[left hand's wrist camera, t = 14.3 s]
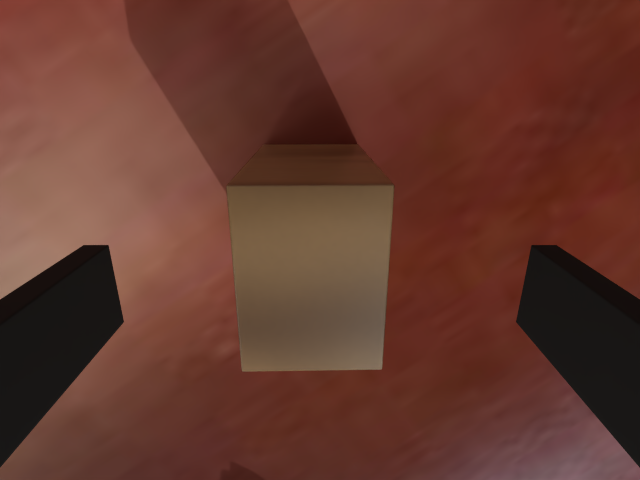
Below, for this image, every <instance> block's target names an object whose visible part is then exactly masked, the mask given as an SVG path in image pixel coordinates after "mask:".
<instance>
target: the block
mask: <svg viewBox="0 0 640 480" xmlns="http://www.w3.org/2000/svg"><path fill="white" fill-rule="evenodd" d="M226 189H227V201H228V213H229V224H230V236H231V248H232V260H233V272H234V284H235V296H236V308H237V320H238V332H239V344H240V355H241V367H242V371H304V370H375V369H382V364H383V349H384V334H385V319H386V304H387V289H388V274H389V259H390V244H391V229H392V214H393V199H394V184H393V183H392V182H391V181H390V180H389V179H388V177H387V176H386V175H385V174H384V173H383V172H382V171H381V170H380V168H379V167H378V166H377V165H376V164H375V163H374V162H373V161H372V160H371V158H370V157H369V156H368V155H367V154H366V153H365V152H364V151H363V149H362V148H361V147H360V146H359V145H358V144H264V145H263V146H262V147H261V148H260V149H259V150H258V151H257V152H256V153H255V155H254V156H253V157H252V158H251V159H250V160H249V161H248V162H247V163H246V165H245V166H244V167H243V168H242V169H241V170H240V171H239V172H238V173H237V175H236V176H235V177H234V178H233V179H232V180H231V181H230V182H229V183H228V185H227V186H226Z"/></svg>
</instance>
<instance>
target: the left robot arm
mask: <svg viewBox="0 0 640 480" xmlns="http://www.w3.org/2000/svg"><path fill="white" fill-rule="evenodd" d="M123 322H124V320H123V315H122V310H121V305H120V300H119V295H118V290H117V285H116V281H115V276H114V271H113V266H112V261H111V256H110V251H109V246H108V245H83V246H82V247H80V248H79V249H77V250H76V251H74V252H73V253H71V254H69V255H68V256H66V257H65V258H63V259H62V260H60V261H59V262H57V263H56V264H54V265H53V266H51V267H50V268H48V269H46V270H45V271H43V272H42V273H40V274H39V275H37V276H36V277H34V278H33V279H31V280H30V281H28V282H27V283H25V284H23V285H22V286H20V287H19V288H17V289H16V290H14V291H13V292H11V293H10V294H8V295H7V296H5V297H3V298H2V299H0V467H1V466H2V465H3V464H4V462H5V461H6V460H7V459H8V458H9V457H10V455H11V454H12V453H13V452H14V451H15V449H16V448H17V447H18V446H19V445H20V444H21V442H22V441H23V440H24V439H25V438H26V437H27V435H28V434H29V433H30V432H31V431H32V429H33V428H34V427H35V426H36V425H37V424H38V422H39V421H40V420H41V419H42V418H43V417H44V415H45V414H46V413H47V412H48V411H49V409H50V408H51V407H52V406H53V405H54V404H55V402H56V401H57V400H58V399H59V398H60V397H61V395H62V394H63V393H64V392H65V391H66V389H67V388H68V387H69V386H70V385H71V384H72V382H73V381H74V380H75V379H76V378H77V377H78V375H79V374H80V373H81V372H82V371H83V369H84V368H85V367H86V366H87V365H88V364H89V362H90V361H91V360H92V359H93V358H94V357H95V355H96V354H97V353H98V352H99V351H100V349H101V348H102V347H103V346H104V345H105V344H106V342H107V341H108V340H109V339H110V338H111V337H112V335H113V334H114V333H115V332H116V331H117V329H118V328H119V327H120V326H121V325H122V324H123ZM516 322H517V324H518V325H519V326H520V327H521V328H522V329H523V331H524V332H525V333H526V334H527V335H528V337H529V338H530V339H531V340H532V341H533V342H534V344H535V345H536V346H537V347H538V348H539V349H540V351H541V352H542V353H543V354H544V355H545V357H546V358H547V359H548V360H549V361H550V362H551V364H552V365H553V366H554V367H555V368H556V369H557V371H558V372H559V373H560V374H561V375H562V377H563V378H564V379H565V380H566V381H567V382H568V384H569V385H570V386H571V387H572V388H573V389H574V391H575V392H576V393H577V394H578V395H579V397H580V398H581V399H582V400H583V401H584V402H585V404H586V405H587V406H588V407H589V408H590V409H591V411H592V412H593V413H594V414H595V415H596V417H597V418H598V419H599V420H600V421H601V422H602V424H603V425H604V426H605V427H606V428H607V429H608V431H609V432H610V433H611V434H612V435H613V437H614V438H615V439H616V440H617V441H618V442H619V444H620V445H621V446H622V447H623V448H624V449H625V451H626V452H627V453H628V454H629V455H630V457H631V458H632V459H633V460H634V461H635V462H636V464H637V465H638V466H639V467H640V299H638V298H637V297H635V296H633V295H632V294H630V293H629V292H627V291H626V290H624V289H623V288H621V287H620V286H618V285H617V284H615V283H613V282H612V281H610V280H609V279H607V278H606V277H604V276H603V275H601V274H600V273H598V272H597V271H595V270H594V269H592V268H590V267H589V266H587V265H586V264H584V263H583V262H581V261H580V260H578V259H577V258H575V257H574V256H572V255H571V254H569V253H567V252H566V251H564V250H563V249H561V248H560V247H558V246H557V245H532V246H531V251H530V256H529V261H528V266H527V271H526V276H525V281H524V285H523V290H522V295H521V300H520V305H519V310H518V315H517V320H516Z"/></svg>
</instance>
